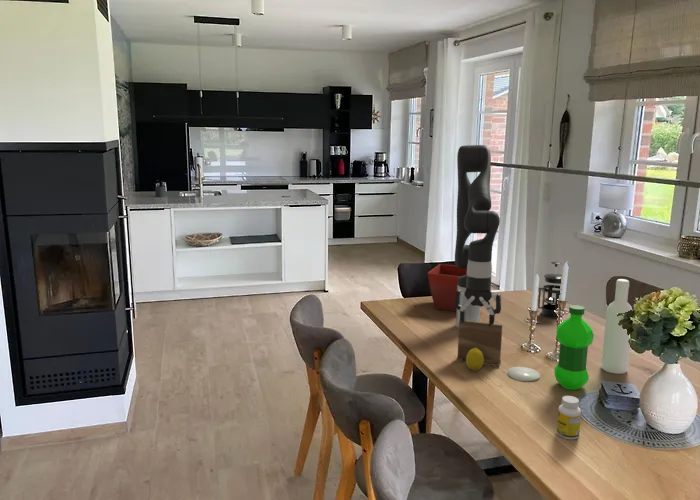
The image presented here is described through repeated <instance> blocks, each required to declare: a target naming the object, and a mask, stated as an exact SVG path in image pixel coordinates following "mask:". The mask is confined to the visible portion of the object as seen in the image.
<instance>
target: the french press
mask: <svg viewBox="0 0 700 500" xmlns="http://www.w3.org/2000/svg"><path fill="white" fill-rule="evenodd" d="M550 263H551V264H552V265H554V267H555V271H554V273H545V274H544V275H543V277H544V282H546V283H550V284H546V285H543V287H538V292H539V295H537V306H538V307H537V308H538V309H540V311H541V312H540V315H541V316H543V317H545V318H550V319H559V318H558V316H557V314H556V313H555V312H554V310H556V309H557V308H558V304H557V299H558V298H559V295H560V296H561V293H560V290H561V289H560V286H561V276H562V275H563V274H559V273H557V267H558V265H562V264H563V263H562V262H560V261H551V262H550ZM556 284H558V285H556ZM557 289H558V290H557ZM541 290H542V291H541ZM546 293H547V297H546ZM541 294H542V301H541ZM541 303H542V304H541ZM545 303H546V304H545ZM540 304H541V306H540Z"/></svg>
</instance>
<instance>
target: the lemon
mask: <svg viewBox="0 0 700 500" xmlns="http://www.w3.org/2000/svg"><path fill="white" fill-rule="evenodd" d="M465 362H466V366H467V367H468V368H469V369H470V370H472V371H473V372H476V371H478V370H480V369H481V368H482V367H483V366H484V364H483V363H484V357H483V353H482V352H481V351H480V350H479V349H477V348H474V349H471V350H470V351H469V352H468V353H467V357H466V361H465Z"/></svg>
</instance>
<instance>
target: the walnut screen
mask: <svg viewBox="0 0 700 500" xmlns="http://www.w3.org/2000/svg"><path fill="white" fill-rule="evenodd" d="M502 337H503V324H501V323H500V324H499V323H495V322H494V323H493V324H492V326H489V322H485V321H480V322H477V321H469V320H465V322H464V323H462V321H460V320H459V329H458V339H457V341H458V342H457V358H456V359H455V362H456V363H460V364H461V363H463V362H466V357H467V353H468V352H469V351H470V350H471V349H474V348H477V349H479V350H480V351H481V352H482V353H483V357H484V363H483V365H491V366H492V368H496V369H500V366H501V362H502V358H501V355H502V354H501V353H502V342H503V341H502V340H503V338H502Z"/></svg>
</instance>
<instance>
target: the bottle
mask: <svg viewBox="0 0 700 500" xmlns="http://www.w3.org/2000/svg"><path fill="white" fill-rule="evenodd" d="M629 289H630V280H628V279H625V278H618V279H617V280H616V282H615V293H614V294H615V295H614V300H613V301H612V302H610V303H609V304H608V307H607V309H606V313H605V323H604V333H603V334H604V336H603V344H602V352H601V353H602V355H601V365H600V368H601V369H602V370H603V371H605V372H606V373H611V374H614V375H615V374H616V375H617V374H618V375H623V374H625V373H628V368H629V357H630V350H631V349H630V348H631V345H630V346H629V343H628V339H629V336H628V335H627V331H626V330H625V329H623V328H622V327H621V326H619V325H618V323H619V319H620V318H618V317H617V313H625V312H628V311H630V310H632V311H633V308H632V306H631V304H630V303H629V302H628V296H629Z"/></svg>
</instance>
